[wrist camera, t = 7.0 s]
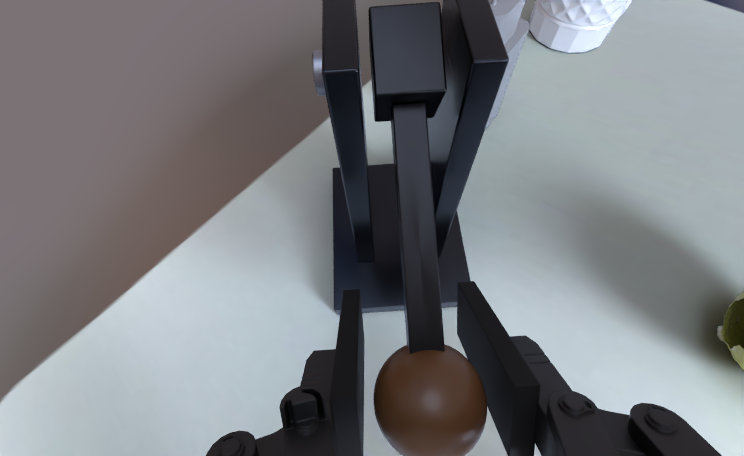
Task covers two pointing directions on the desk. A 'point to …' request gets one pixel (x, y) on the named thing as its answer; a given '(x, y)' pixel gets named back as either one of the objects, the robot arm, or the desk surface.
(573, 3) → the white cup
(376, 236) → the bracket
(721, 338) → the tennis ball
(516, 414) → the robot arm
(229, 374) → the desk surface
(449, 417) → the lever
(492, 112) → the power adapter
